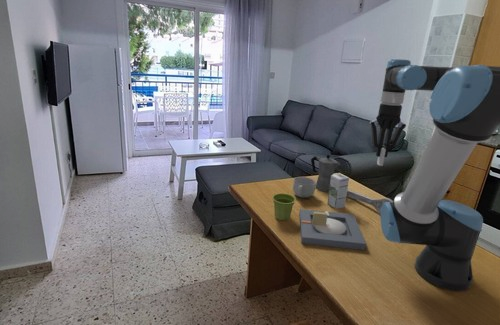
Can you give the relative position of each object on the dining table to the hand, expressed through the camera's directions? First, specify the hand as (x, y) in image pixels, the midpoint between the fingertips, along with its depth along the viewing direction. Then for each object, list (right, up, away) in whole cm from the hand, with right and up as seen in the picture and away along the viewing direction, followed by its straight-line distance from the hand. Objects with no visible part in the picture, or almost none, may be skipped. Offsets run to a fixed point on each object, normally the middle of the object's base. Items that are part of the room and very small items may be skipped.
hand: (379, 164), depth 118 cm
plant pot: (-37, -22, +6) cm, 44 cm away
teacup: (-26, -16, +27) cm, 41 cm away
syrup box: (-12, -19, +19) cm, 30 cm away
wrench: (+2, -19, +22) cm, 29 cm away
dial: (-21, -24, -2) cm, 32 cm away
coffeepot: (-13, -12, +39) cm, 43 cm away
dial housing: (-20, -25, -2) cm, 33 cm away
